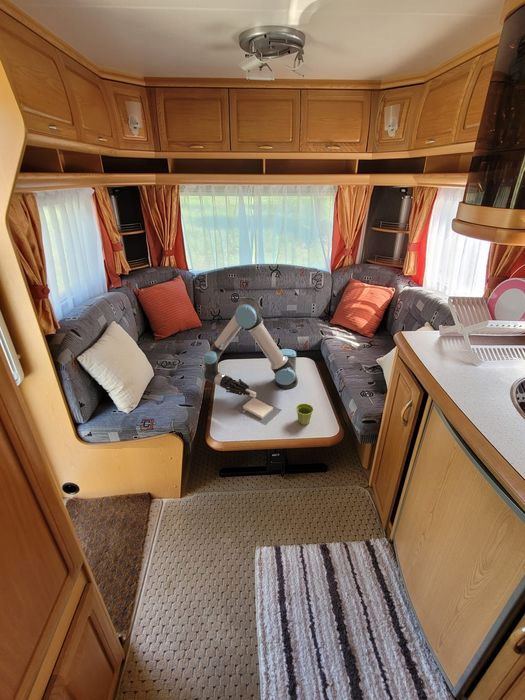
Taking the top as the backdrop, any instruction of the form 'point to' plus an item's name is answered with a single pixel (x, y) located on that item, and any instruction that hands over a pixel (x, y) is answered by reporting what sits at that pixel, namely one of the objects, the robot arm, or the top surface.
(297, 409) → the plant pot
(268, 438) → the top surface
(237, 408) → the board
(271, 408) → the tile
